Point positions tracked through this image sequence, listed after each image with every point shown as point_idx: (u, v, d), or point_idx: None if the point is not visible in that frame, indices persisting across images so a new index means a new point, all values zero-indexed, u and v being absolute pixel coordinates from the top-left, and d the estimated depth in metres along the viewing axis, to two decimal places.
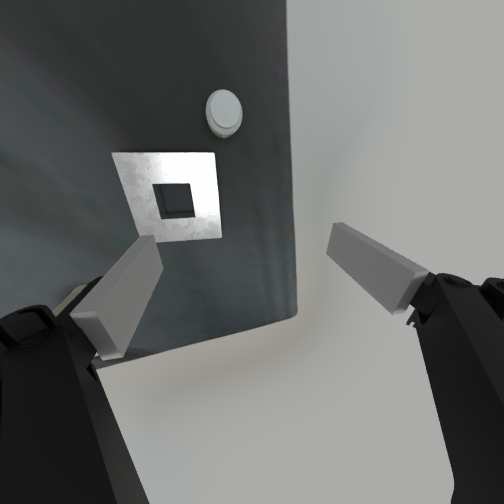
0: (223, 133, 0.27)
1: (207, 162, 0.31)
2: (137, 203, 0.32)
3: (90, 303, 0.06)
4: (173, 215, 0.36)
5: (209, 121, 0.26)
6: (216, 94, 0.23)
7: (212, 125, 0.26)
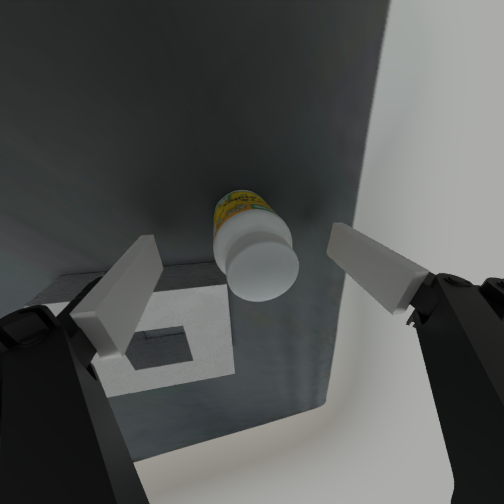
0: None
1: (214, 297, 0.17)
2: None
3: (90, 303, 0.06)
4: (157, 349, 0.23)
5: (221, 269, 0.12)
6: (244, 253, 0.09)
7: None
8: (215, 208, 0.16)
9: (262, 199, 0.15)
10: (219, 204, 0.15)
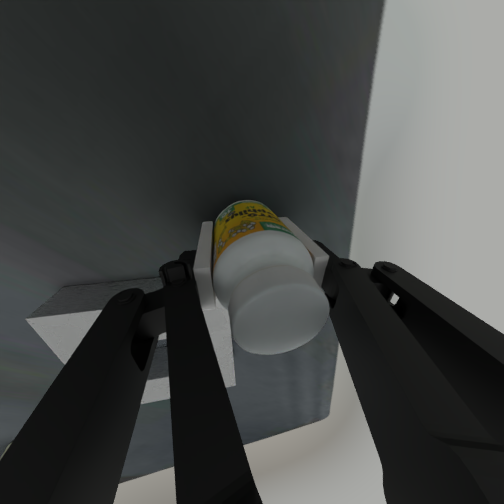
0: None
1: None
2: None
3: (202, 263, 0.09)
4: (157, 360, 0.22)
5: (223, 305, 0.09)
6: (256, 300, 0.06)
7: None
8: None
9: (272, 212, 0.13)
10: (220, 217, 0.13)
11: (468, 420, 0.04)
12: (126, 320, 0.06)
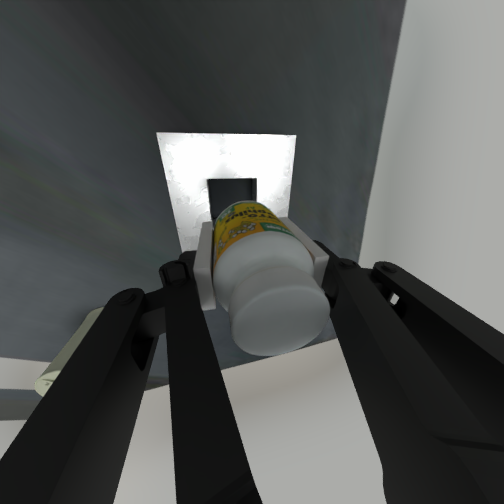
0: None
1: (285, 149, 0.22)
2: (184, 205, 0.23)
3: (202, 263, 0.09)
4: None
5: (223, 306, 0.09)
6: (257, 301, 0.06)
7: None
8: (215, 222, 0.14)
9: (272, 212, 0.13)
10: (220, 218, 0.13)
11: (468, 420, 0.04)
12: (126, 320, 0.06)
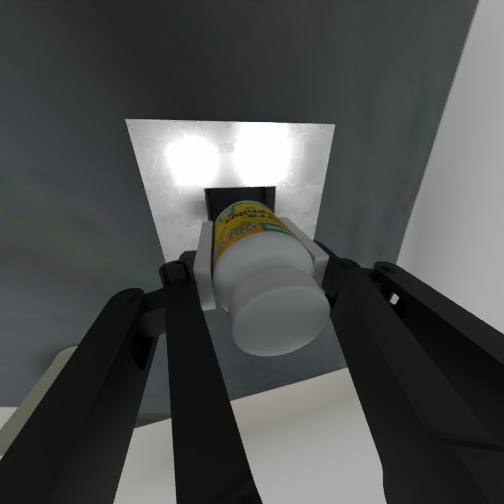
0: None
1: (317, 145, 0.15)
2: (173, 225, 0.17)
3: (202, 263, 0.09)
4: None
5: (223, 306, 0.09)
6: (256, 302, 0.06)
7: None
8: (215, 222, 0.14)
9: (272, 212, 0.13)
10: (220, 218, 0.13)
11: (468, 420, 0.04)
12: (126, 320, 0.06)
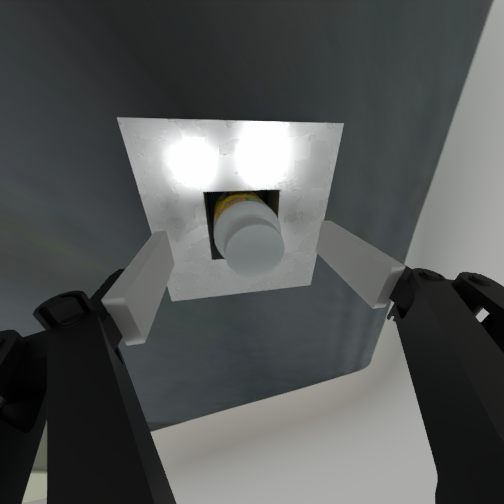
0: None
1: (325, 146, 0.14)
2: (170, 231, 0.15)
3: (118, 291, 0.07)
4: None
5: (220, 252, 0.14)
6: (239, 233, 0.11)
7: None
8: None
9: (256, 195, 0.17)
10: (219, 199, 0.17)
11: None
12: None
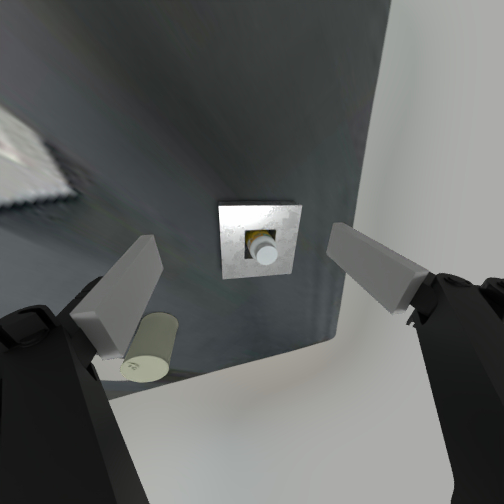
0: None
1: (295, 213, 0.35)
2: (228, 246, 0.36)
3: (90, 303, 0.06)
4: None
5: (252, 255, 0.34)
6: (262, 248, 0.31)
7: (254, 257, 0.34)
8: (246, 232, 0.39)
9: None
10: (248, 231, 0.38)
11: None
12: None
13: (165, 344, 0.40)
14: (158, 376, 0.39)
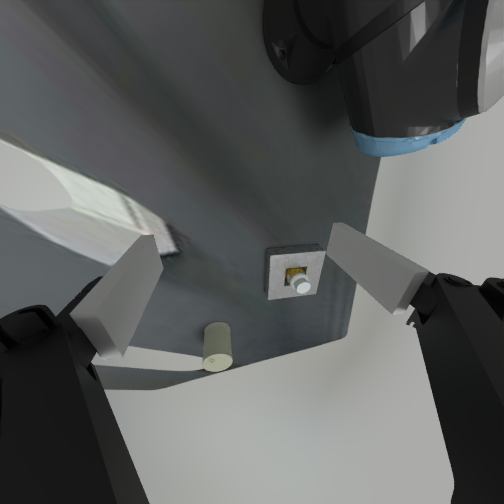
0: None
1: (320, 255, 0.50)
2: (274, 278, 0.52)
3: (90, 303, 0.06)
4: (287, 281, 0.56)
5: (291, 286, 0.50)
6: (300, 284, 0.47)
7: (293, 287, 0.50)
8: None
9: None
10: None
11: None
12: None
13: (228, 345, 0.56)
14: (224, 367, 0.56)
